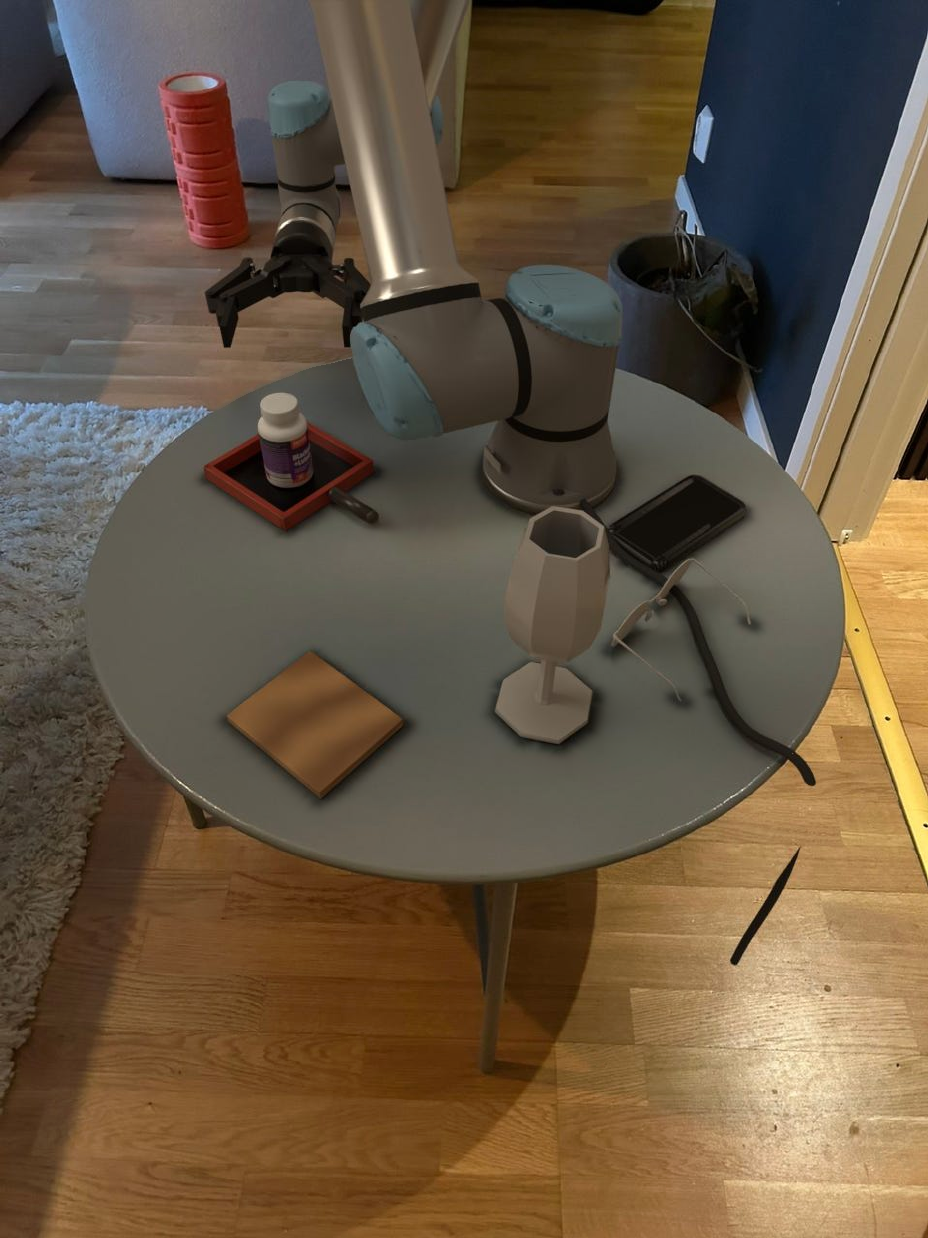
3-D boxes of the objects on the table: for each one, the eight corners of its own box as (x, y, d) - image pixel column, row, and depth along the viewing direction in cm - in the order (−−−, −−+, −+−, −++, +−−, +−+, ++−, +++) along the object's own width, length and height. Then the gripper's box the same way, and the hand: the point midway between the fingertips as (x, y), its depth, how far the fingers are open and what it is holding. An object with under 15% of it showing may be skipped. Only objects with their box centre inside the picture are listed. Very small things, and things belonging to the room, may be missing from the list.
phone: (604, 528, 97) (694, 471, 103) (602, 536, 97) (692, 479, 104) (660, 568, 93) (751, 506, 99) (658, 575, 93) (748, 514, 100)
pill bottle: (305, 492, 102) (294, 420, 95) (259, 486, 103) (245, 413, 95) (320, 463, 105) (310, 391, 98) (276, 457, 106) (263, 385, 99)
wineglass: (563, 761, 78) (591, 591, 63) (477, 717, 81) (483, 544, 66) (608, 693, 83) (643, 520, 68) (525, 654, 86) (541, 480, 71)
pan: (420, 499, 101) (419, 483, 100) (331, 562, 94) (329, 546, 93) (295, 426, 111) (292, 410, 109) (205, 478, 104) (201, 463, 102)
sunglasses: (680, 580, 93) (696, 549, 89) (748, 629, 90) (768, 599, 86) (601, 657, 86) (615, 627, 82) (672, 713, 83) (690, 684, 79)
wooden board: (403, 725, 80) (403, 718, 80) (320, 799, 75) (319, 793, 75) (311, 657, 86) (310, 650, 85) (228, 721, 81) (226, 715, 80)
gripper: (402, 276, 119) (398, 365, 105) (211, 276, 119) (181, 366, 104) (399, 219, 114) (395, 305, 99) (199, 219, 113) (166, 306, 99)
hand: (285, 337), depth 102 cm, fingers open, 13 cm apart
